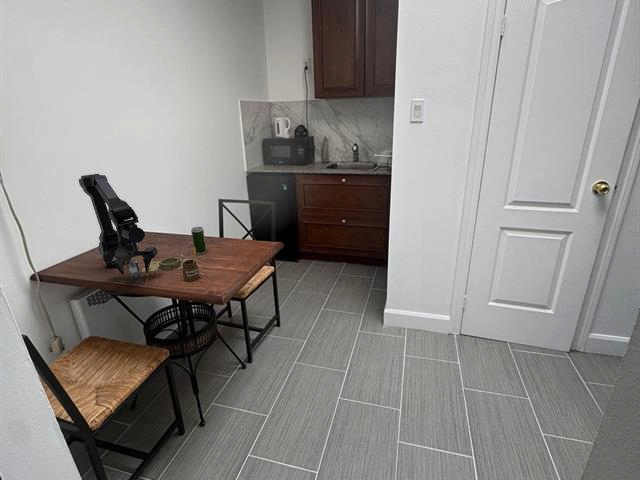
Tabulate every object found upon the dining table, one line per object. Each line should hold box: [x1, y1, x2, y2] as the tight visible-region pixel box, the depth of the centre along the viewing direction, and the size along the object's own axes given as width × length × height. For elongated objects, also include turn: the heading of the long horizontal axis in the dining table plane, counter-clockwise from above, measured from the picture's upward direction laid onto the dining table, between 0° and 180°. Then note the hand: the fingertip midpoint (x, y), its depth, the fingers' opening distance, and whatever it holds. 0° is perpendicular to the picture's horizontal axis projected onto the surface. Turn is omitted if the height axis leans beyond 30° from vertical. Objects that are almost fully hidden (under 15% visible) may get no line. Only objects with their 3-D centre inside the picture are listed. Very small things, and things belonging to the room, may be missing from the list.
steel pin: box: [125, 259, 143, 281], centre depth 137 cm, size 5×5×6 cm
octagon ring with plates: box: [140, 256, 199, 274], centre depth 148 cm, size 21×10×2 cm, turn 97°
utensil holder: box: [179, 248, 200, 282], centre depth 134 cm, size 6×6×12 cm
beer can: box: [191, 226, 208, 255], centre depth 160 cm, size 5×5×12 cm
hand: (135, 273), depth 138 cm, fingers open, 9 cm apart
